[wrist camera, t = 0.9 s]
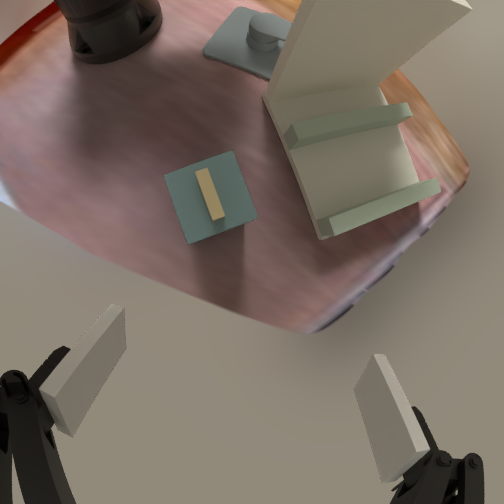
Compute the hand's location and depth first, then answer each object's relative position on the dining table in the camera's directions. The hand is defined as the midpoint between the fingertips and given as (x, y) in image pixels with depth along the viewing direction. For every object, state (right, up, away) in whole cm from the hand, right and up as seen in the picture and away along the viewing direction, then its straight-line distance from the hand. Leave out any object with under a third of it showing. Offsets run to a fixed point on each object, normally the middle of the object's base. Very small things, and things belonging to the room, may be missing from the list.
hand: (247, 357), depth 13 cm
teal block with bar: (-5, +10, +20) cm, 23 cm away
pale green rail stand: (+13, +19, +21) cm, 32 cm away
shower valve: (+2, +35, +20) cm, 41 cm away
